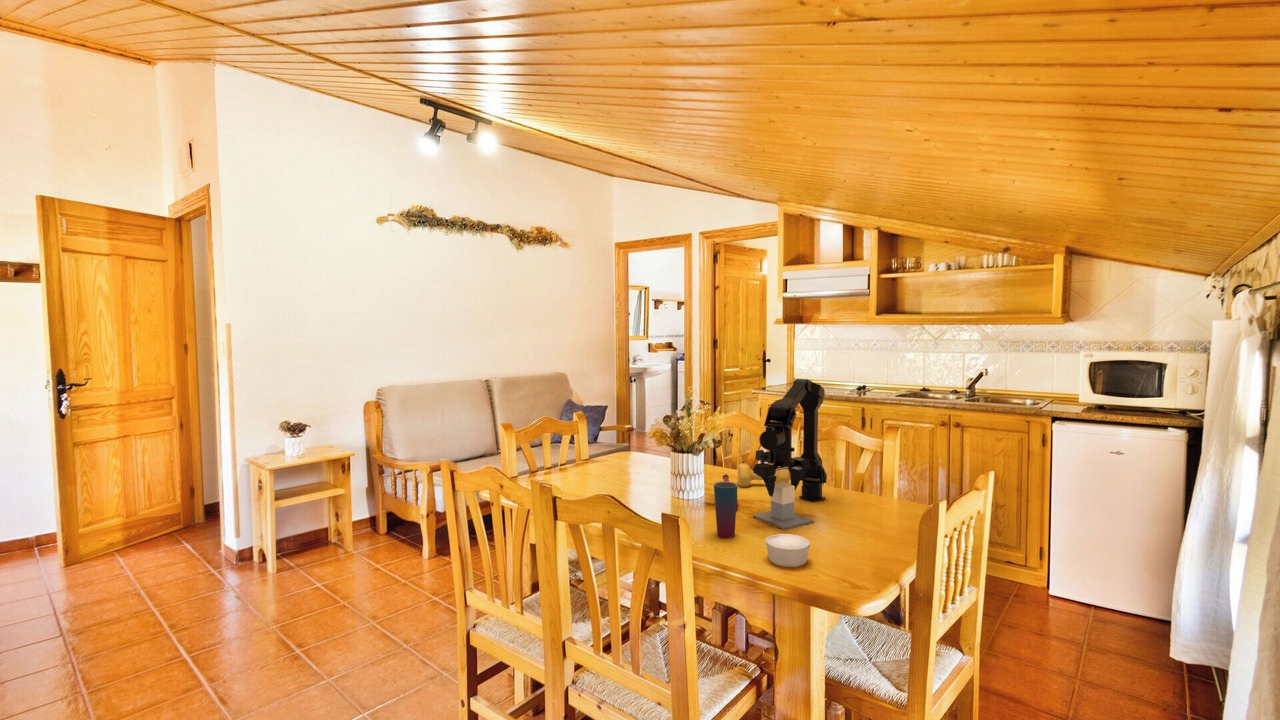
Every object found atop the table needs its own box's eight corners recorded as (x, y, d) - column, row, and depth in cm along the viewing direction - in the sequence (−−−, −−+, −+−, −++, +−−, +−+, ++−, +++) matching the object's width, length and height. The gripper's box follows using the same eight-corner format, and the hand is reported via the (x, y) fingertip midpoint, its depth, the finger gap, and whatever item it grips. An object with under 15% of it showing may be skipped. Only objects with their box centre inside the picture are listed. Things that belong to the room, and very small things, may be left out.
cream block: (794, 501, 188) (794, 485, 188) (782, 504, 186) (782, 488, 185) (783, 497, 192) (783, 482, 192) (771, 500, 190) (771, 484, 190)
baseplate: (781, 510, 198) (781, 507, 198) (813, 522, 186) (813, 519, 186) (752, 517, 192) (752, 514, 192) (784, 530, 180) (784, 527, 180)
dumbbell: (738, 489, 225) (738, 467, 224) (736, 482, 234) (736, 461, 233) (790, 489, 223) (790, 467, 222) (787, 483, 232) (787, 461, 231)
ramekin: (778, 549, 166) (778, 530, 166) (817, 559, 159) (817, 539, 158) (757, 562, 157) (757, 542, 157) (798, 573, 150) (798, 552, 150)
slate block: (782, 513, 193) (782, 497, 192) (794, 517, 188) (794, 501, 188) (771, 516, 190) (770, 500, 190) (782, 520, 186) (782, 504, 186)
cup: (739, 532, 179) (739, 482, 178) (735, 540, 173) (735, 488, 172) (716, 530, 181) (716, 480, 180) (711, 538, 175) (711, 486, 174)
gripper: (785, 436, 200) (786, 483, 201) (741, 443, 190) (741, 492, 191) (811, 442, 190) (811, 491, 191) (765, 449, 181) (766, 501, 182)
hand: (782, 493), depth 189 cm, fingers open, 9 cm apart
